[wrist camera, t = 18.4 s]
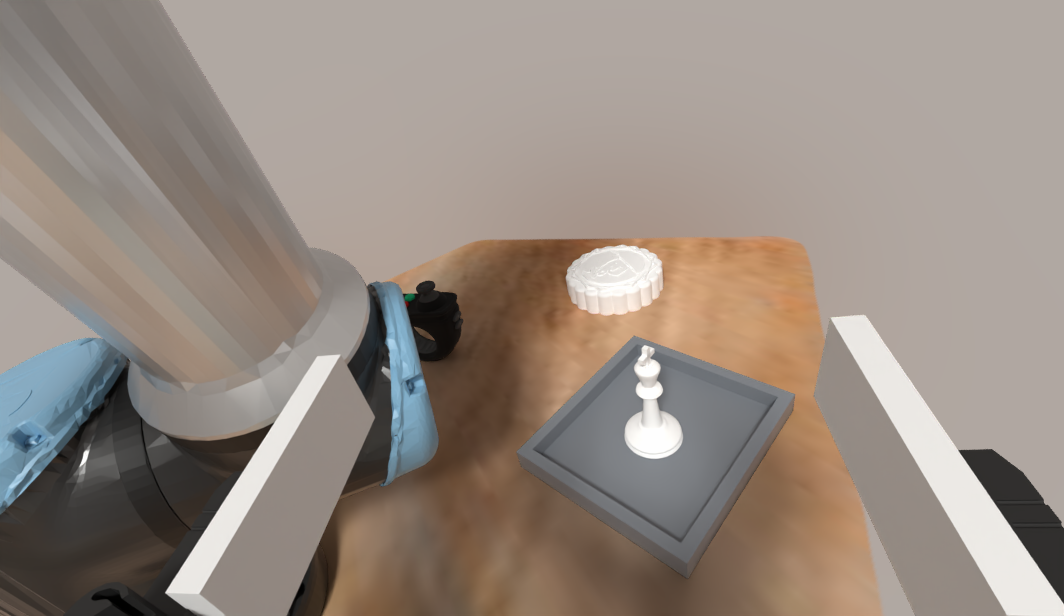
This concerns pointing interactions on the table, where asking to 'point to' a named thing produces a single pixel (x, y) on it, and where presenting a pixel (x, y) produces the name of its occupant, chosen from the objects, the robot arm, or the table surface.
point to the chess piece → (651, 415)
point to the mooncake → (615, 280)
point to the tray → (666, 483)
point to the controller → (434, 320)
